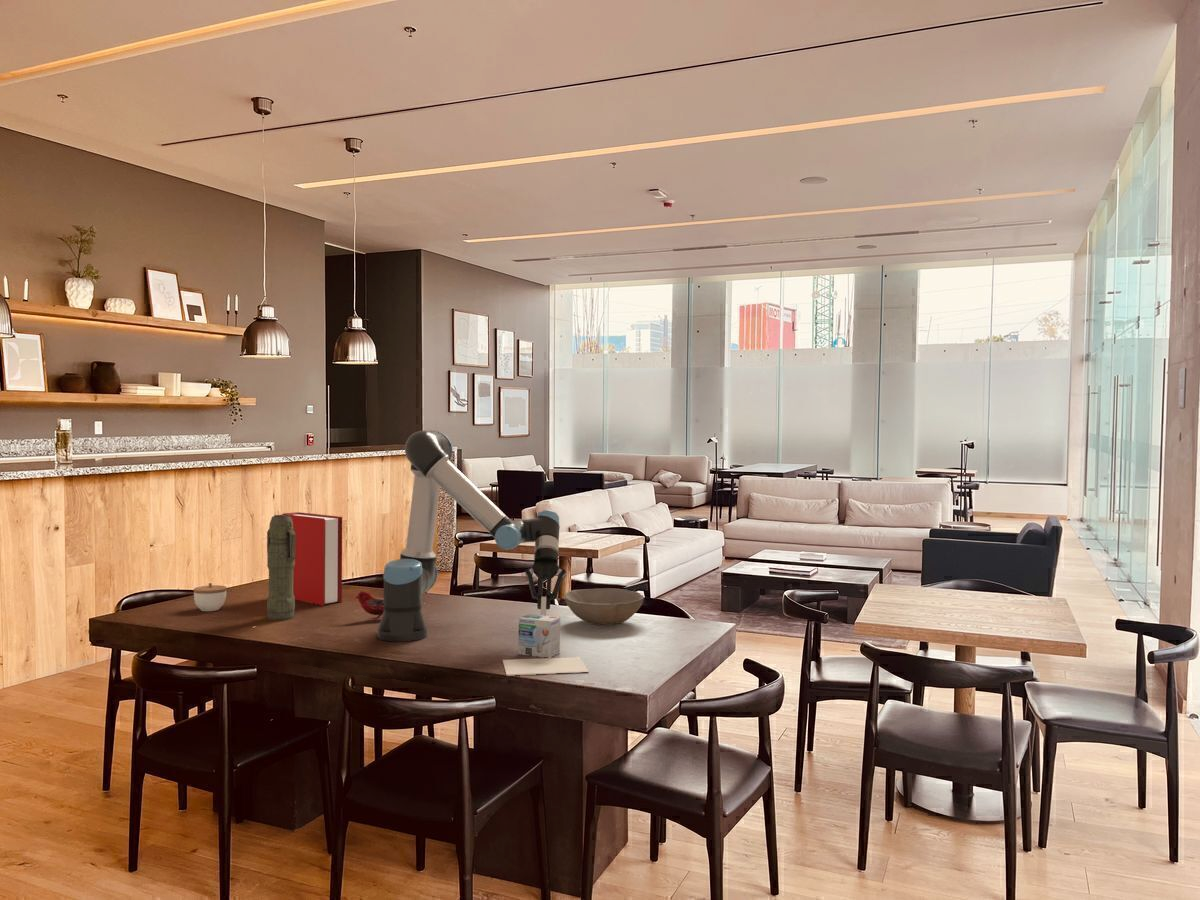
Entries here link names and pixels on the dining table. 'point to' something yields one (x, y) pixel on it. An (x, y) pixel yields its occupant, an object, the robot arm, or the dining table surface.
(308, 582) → the book
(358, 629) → the dining table surface
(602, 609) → the bowl
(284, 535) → the stone statue
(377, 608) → the decorative bird figurine
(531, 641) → the light bulb box
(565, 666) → the mat
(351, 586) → the dining table surface
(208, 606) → the lidded jar
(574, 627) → the dining table surface
